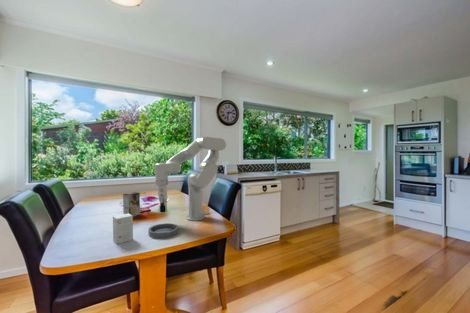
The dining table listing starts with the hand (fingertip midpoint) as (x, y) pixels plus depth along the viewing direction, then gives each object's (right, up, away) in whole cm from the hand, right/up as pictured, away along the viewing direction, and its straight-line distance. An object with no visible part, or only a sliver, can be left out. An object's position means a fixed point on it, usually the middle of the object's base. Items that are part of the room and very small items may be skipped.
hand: (163, 210), depth 144 cm
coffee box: (-28, -8, +18) cm, 35 cm away
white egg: (0, -1, 0) cm, 1 cm away
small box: (-13, -10, -25) cm, 30 cm away
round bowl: (+5, -9, -14) cm, 18 cm away
